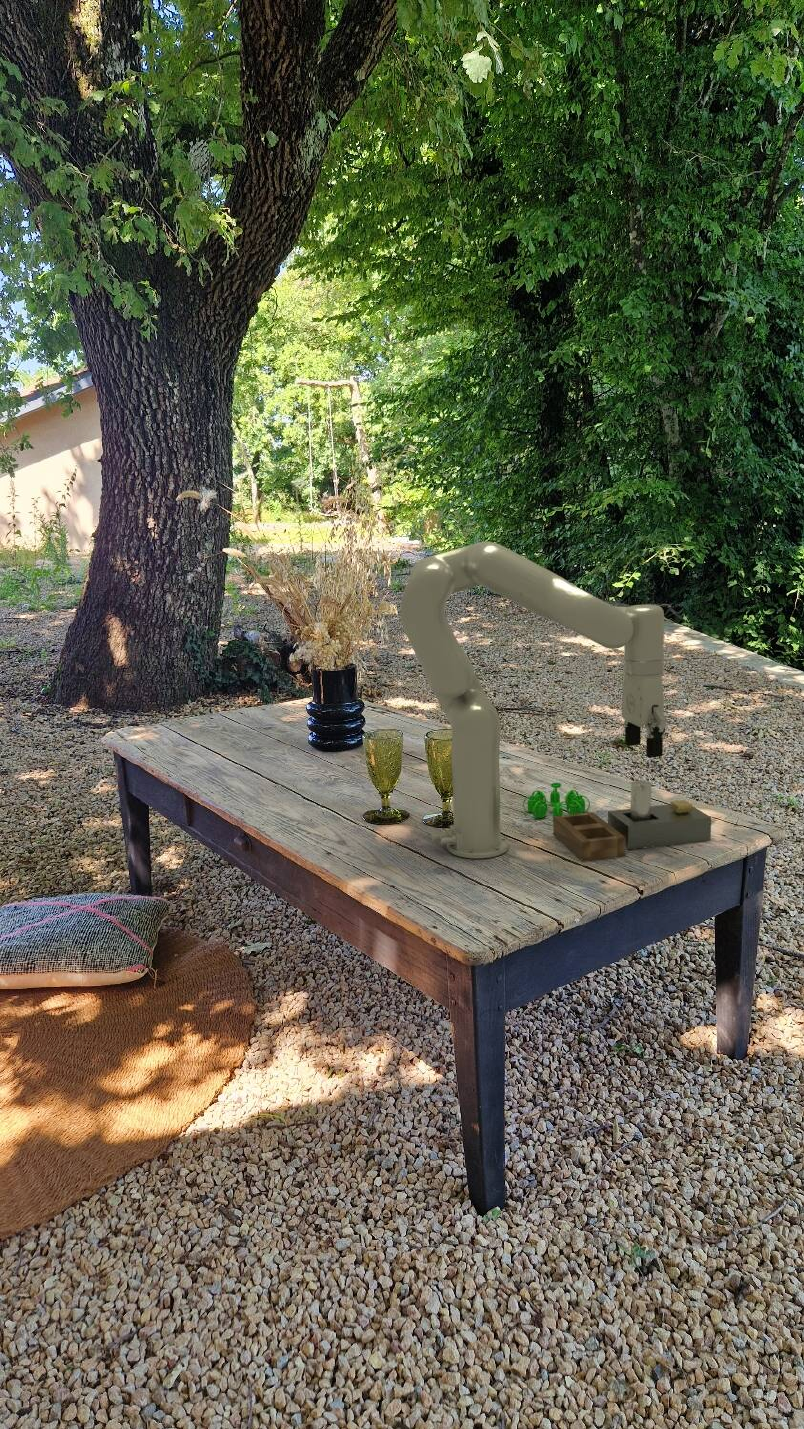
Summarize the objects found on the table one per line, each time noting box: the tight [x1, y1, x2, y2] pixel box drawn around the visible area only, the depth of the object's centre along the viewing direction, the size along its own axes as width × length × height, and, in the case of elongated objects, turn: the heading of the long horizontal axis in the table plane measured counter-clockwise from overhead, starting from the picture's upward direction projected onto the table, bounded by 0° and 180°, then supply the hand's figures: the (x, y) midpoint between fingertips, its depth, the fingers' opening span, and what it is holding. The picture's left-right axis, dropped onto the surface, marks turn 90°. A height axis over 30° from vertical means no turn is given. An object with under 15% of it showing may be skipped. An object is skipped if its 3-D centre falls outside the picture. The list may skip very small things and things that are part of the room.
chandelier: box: [522, 782, 591, 820], centre depth 205 cm, size 15×15×7 cm
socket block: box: [607, 804, 712, 851], centre depth 188 cm, size 18×10×5 cm, turn 101°
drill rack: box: [552, 811, 626, 863], centre depth 185 cm, size 9×16×4 cm, turn 11°
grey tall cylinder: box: [630, 780, 652, 822], centre depth 186 cm, size 4×4×12 cm
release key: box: [669, 799, 693, 814], centre depth 188 cm, size 3×3×6 cm
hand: (643, 750), depth 183 cm, fingers open, 9 cm apart
